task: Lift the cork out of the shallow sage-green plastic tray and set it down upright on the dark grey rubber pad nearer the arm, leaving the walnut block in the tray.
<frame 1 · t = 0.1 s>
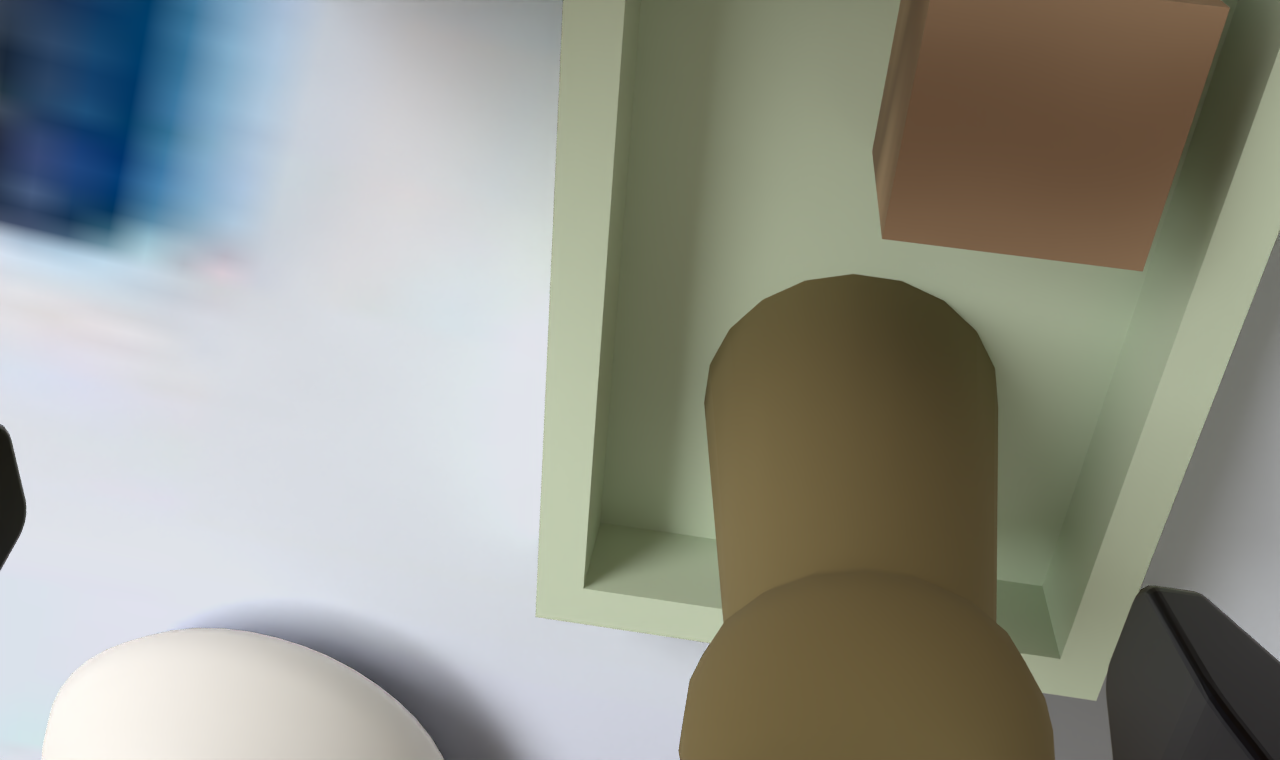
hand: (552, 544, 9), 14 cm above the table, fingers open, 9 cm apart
tray: (874, 269, 23), on the table
pad: (989, 732, 29), on the table
walnut block: (1007, 56, 21), resting on tray
flower in vase: (263, 721, 33), on the table
cork: (848, 400, 25), resting on tray
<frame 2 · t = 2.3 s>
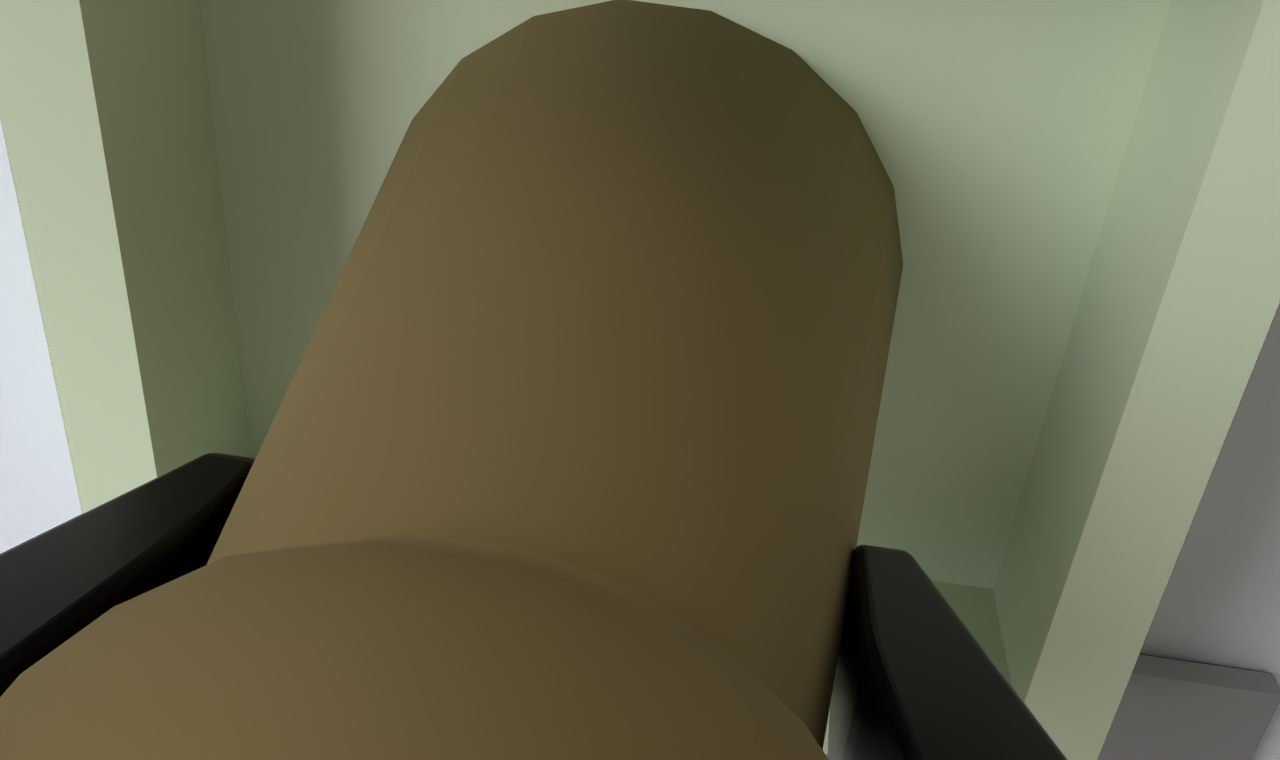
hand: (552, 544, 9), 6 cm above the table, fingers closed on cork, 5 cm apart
cork: (640, 257, 14), resting on tray, touching gripper
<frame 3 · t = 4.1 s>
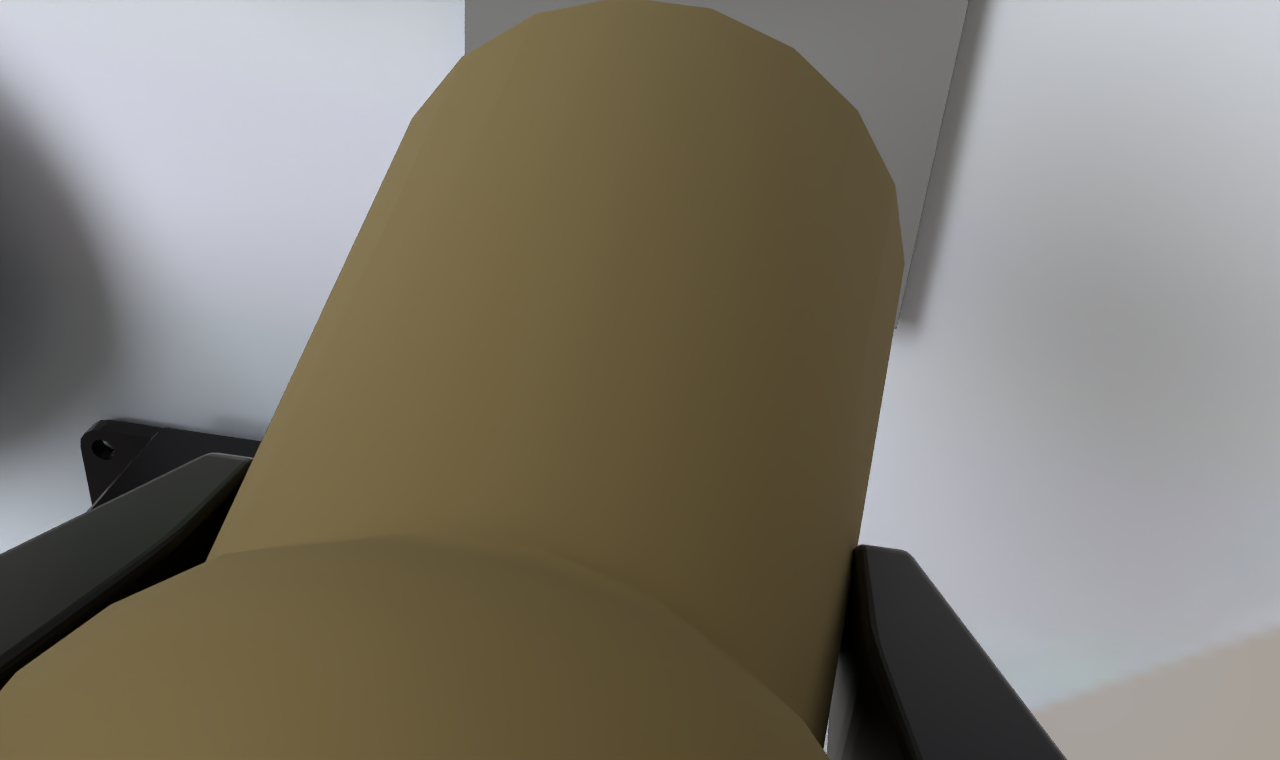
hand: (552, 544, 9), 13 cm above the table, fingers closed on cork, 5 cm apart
pad: (702, 78, 20), on the table
cork: (641, 256, 14), point 7 cm above the table, touching gripper
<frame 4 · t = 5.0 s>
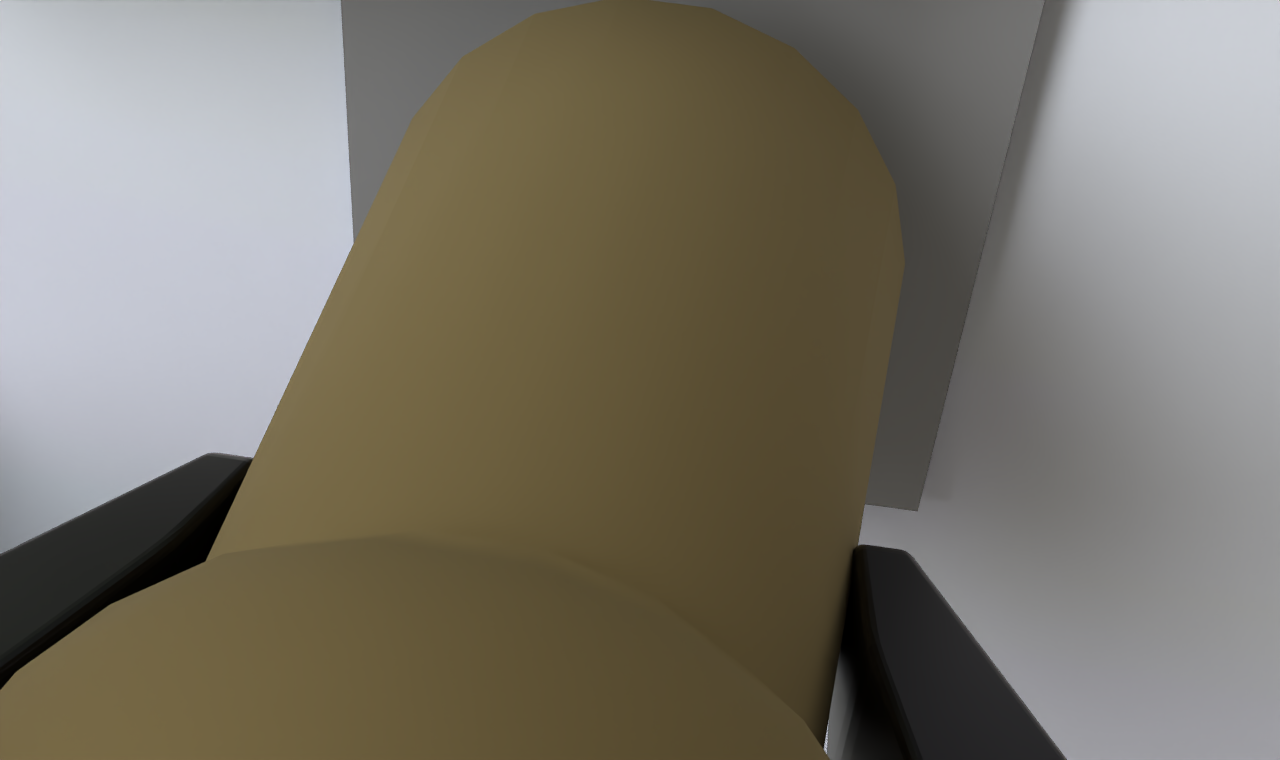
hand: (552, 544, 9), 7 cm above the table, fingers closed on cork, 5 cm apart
pad: (663, 200, 15), on the table
cork: (641, 256, 14), point 2 cm above the table, touching gripper
when the fingers open (6 cm above the table, at t = 5.9 s): cork stays where it is, resting on pad.
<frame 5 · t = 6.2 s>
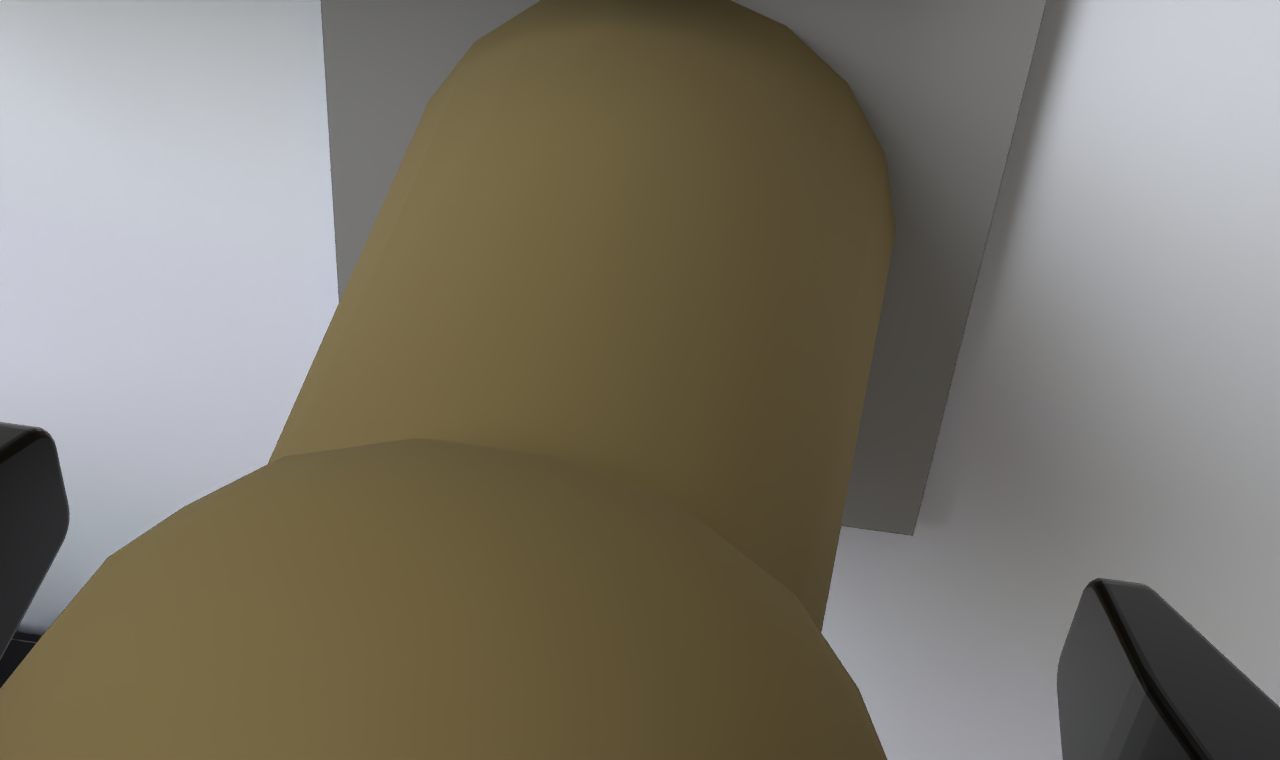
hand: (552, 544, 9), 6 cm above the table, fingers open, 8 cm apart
pad: (652, 220, 15), on the table
cork: (646, 228, 15), resting on pad
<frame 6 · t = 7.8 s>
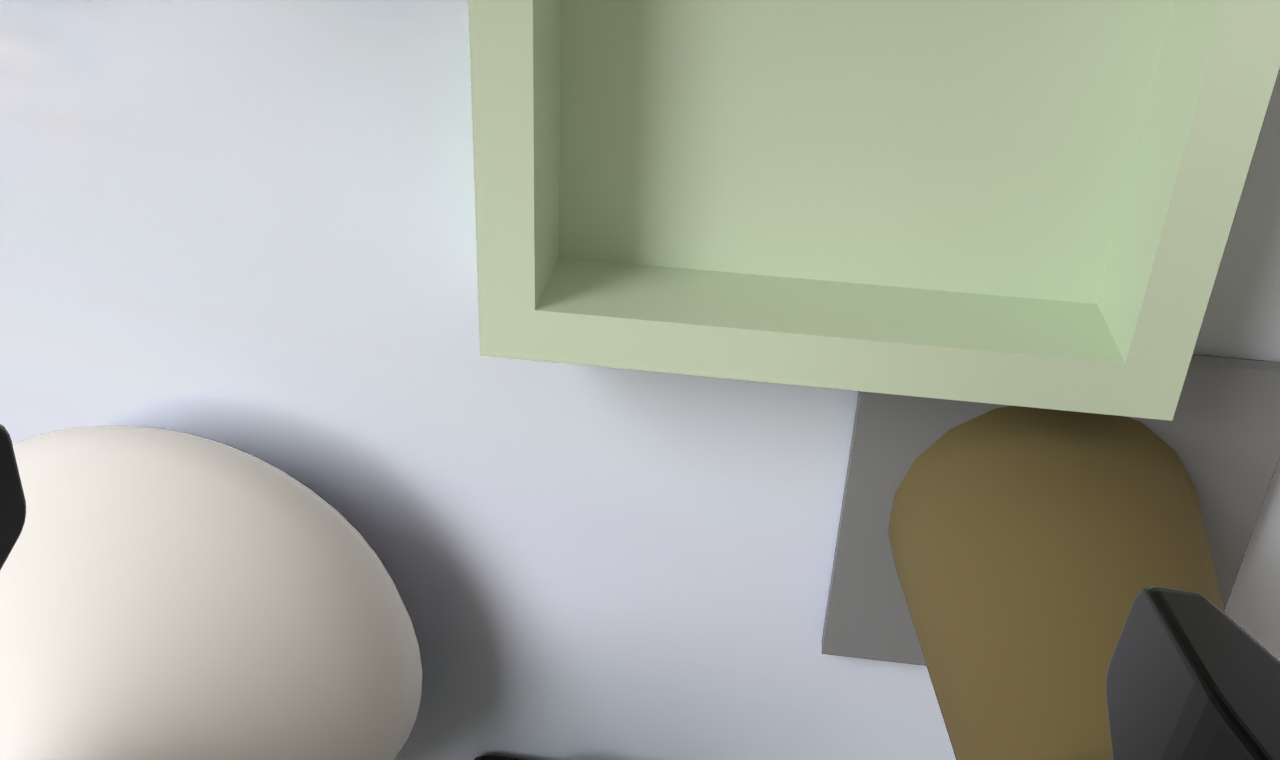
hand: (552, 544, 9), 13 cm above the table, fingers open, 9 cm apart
pad: (1038, 516, 24), on the table
flower in vase: (190, 563, 28), on the table
cork: (1037, 522, 24), resting on pad
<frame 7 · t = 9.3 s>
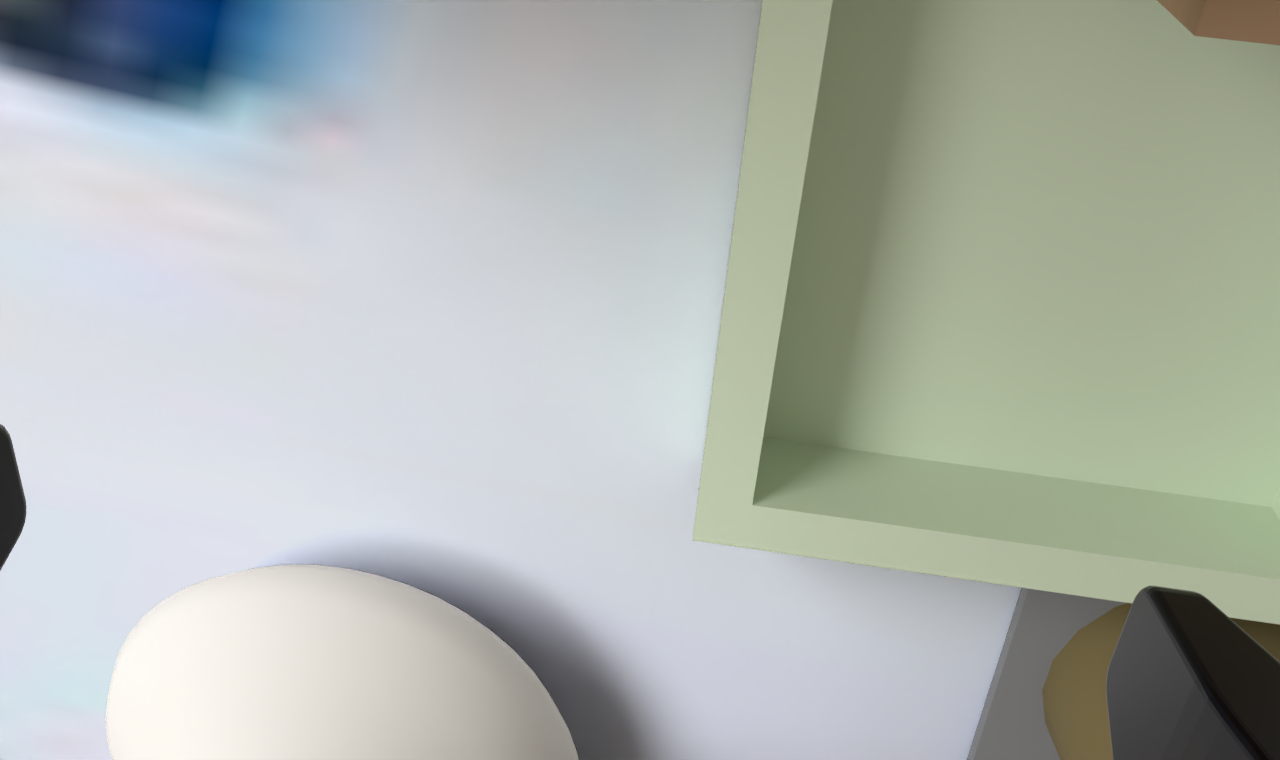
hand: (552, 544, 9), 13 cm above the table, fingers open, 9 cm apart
tray: (1108, 122, 20), on the table
pad: (1186, 682, 26), on the table
flower in vase: (349, 676, 29), on the table
cork: (1185, 689, 26), resting on pad
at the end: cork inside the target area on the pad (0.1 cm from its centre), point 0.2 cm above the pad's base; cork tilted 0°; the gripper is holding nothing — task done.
